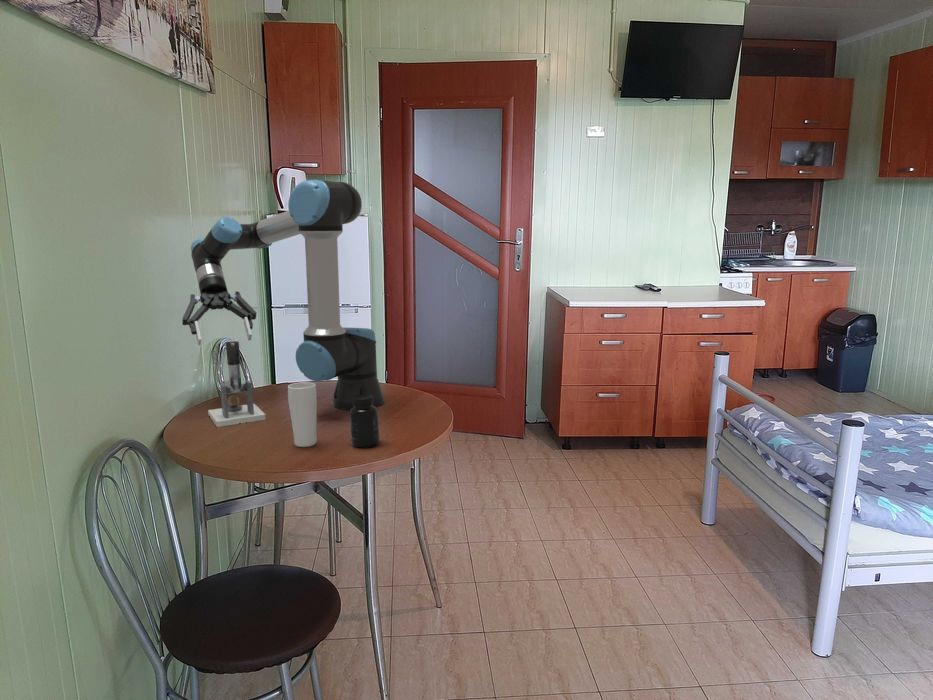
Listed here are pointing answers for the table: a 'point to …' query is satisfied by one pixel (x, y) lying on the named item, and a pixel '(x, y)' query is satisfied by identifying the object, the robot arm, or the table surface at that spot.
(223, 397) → the nutcracker base
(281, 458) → the table surface
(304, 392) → the drinking glass
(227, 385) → the lever
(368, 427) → the supplement bottle
